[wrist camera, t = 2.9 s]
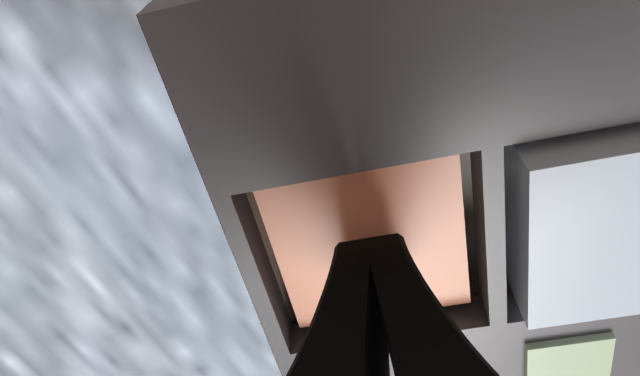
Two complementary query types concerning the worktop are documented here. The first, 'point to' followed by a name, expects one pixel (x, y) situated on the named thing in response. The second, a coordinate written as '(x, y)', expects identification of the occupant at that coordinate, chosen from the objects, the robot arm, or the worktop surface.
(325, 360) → the robot arm
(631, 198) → the blue key
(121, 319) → the worktop surface
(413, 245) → the terracotta key
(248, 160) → the keypad
